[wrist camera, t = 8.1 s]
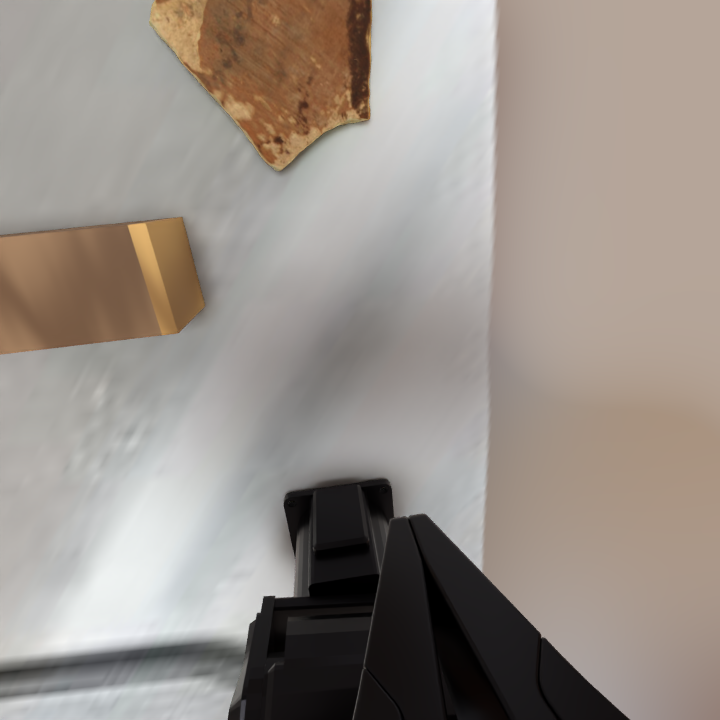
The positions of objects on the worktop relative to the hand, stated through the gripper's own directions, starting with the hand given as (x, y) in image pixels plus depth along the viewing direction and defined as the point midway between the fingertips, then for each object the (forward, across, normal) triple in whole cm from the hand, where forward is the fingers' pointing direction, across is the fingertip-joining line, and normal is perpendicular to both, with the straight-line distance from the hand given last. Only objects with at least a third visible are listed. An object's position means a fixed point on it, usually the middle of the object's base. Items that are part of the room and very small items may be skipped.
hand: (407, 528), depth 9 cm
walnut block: (+10, +7, -5) cm, 13 cm away
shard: (+13, +2, -14) cm, 19 cm away
